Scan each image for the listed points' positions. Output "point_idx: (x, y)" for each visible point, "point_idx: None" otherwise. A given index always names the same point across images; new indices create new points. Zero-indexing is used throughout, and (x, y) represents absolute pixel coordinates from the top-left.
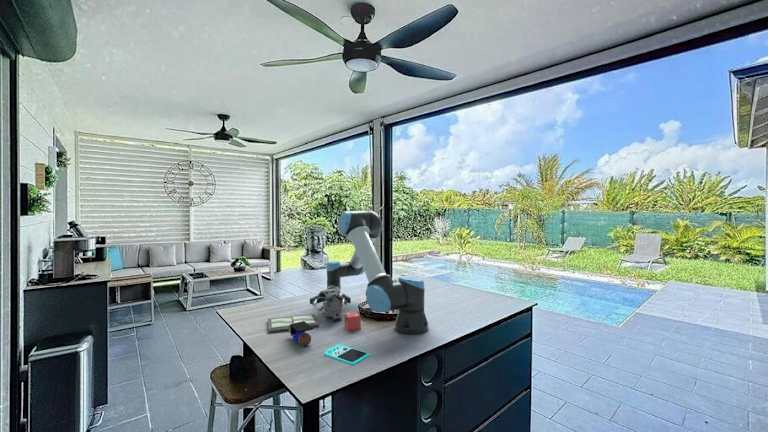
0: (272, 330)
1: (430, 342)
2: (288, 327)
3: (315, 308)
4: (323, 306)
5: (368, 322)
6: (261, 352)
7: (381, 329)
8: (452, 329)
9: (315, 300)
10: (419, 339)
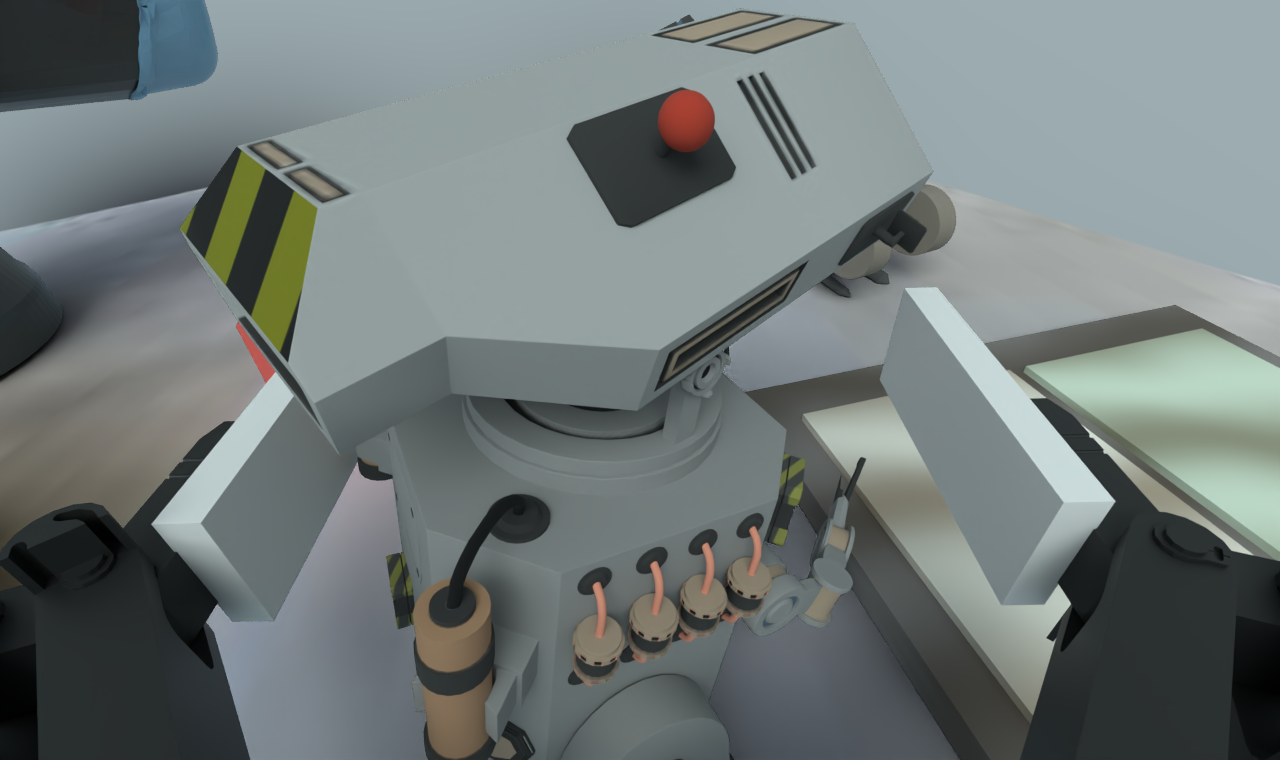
0: (1146, 314)
1: (34, 238)
2: (952, 224)
3: (883, 382)
4: (797, 581)
5: (132, 504)
6: (948, 189)
7: (150, 359)
8: None
9: (1027, 412)
10: (50, 257)
